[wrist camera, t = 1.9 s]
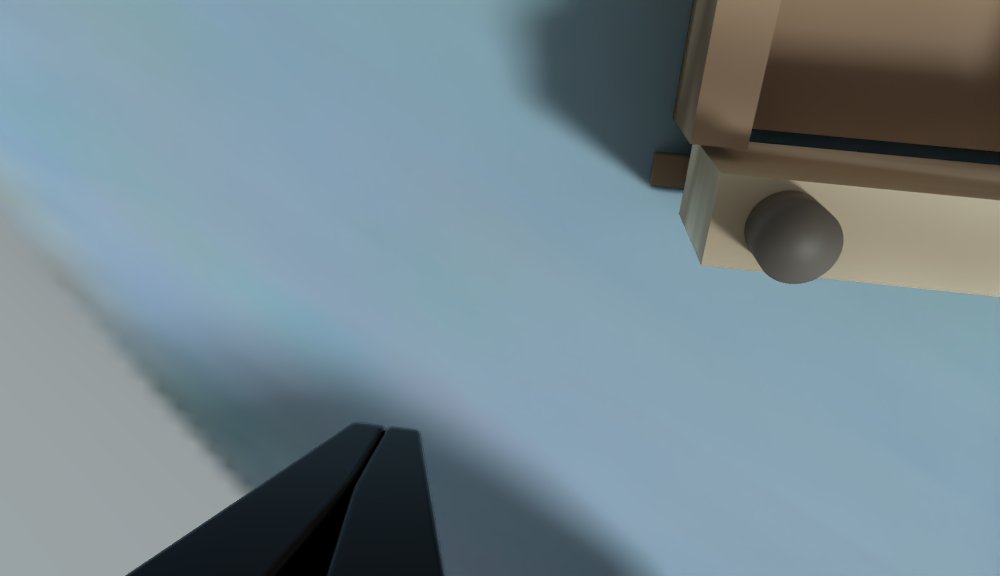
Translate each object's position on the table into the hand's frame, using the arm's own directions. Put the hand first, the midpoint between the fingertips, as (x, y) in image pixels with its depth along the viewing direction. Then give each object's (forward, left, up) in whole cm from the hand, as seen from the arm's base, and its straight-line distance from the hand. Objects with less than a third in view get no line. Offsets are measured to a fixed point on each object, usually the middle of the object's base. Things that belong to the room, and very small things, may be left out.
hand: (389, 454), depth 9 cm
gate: (+4, -9, -10) cm, 14 cm away
